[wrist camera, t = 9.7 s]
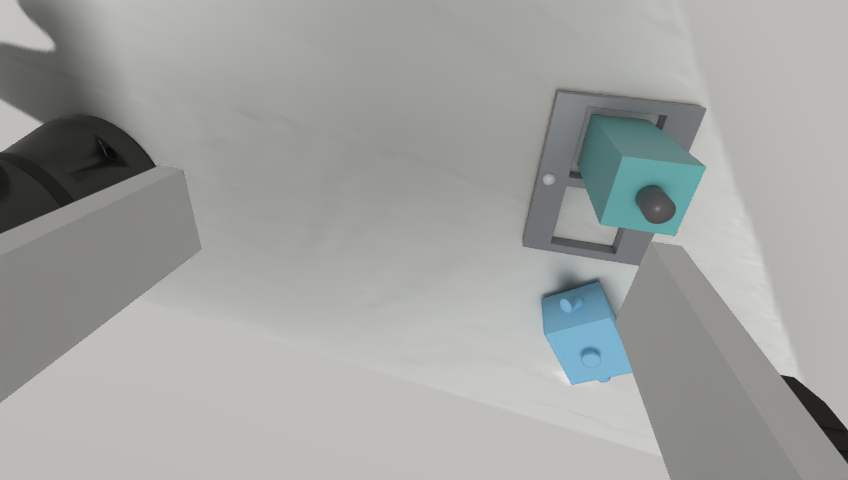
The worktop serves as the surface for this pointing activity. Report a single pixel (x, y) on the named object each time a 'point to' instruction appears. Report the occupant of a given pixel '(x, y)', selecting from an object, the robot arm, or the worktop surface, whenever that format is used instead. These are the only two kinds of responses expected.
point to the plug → (637, 174)
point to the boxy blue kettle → (584, 334)
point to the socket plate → (556, 176)
